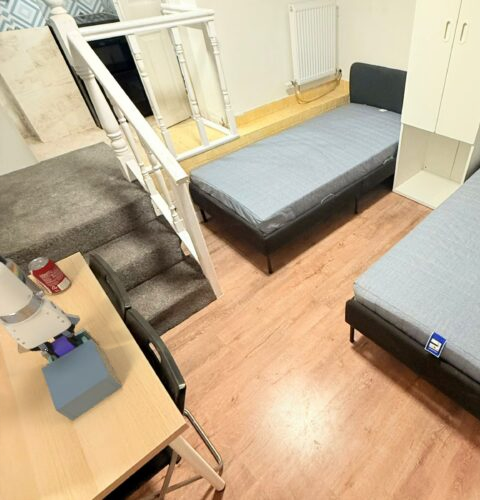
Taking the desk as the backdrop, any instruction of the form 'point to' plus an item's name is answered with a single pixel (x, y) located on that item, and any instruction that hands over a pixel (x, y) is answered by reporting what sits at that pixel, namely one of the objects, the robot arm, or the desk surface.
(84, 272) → the desk surface
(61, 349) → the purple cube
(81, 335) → the drawer
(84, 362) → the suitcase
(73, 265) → the desk surface
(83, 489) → the desk surface
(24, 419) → the desk surface
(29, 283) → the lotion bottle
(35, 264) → the soda can
